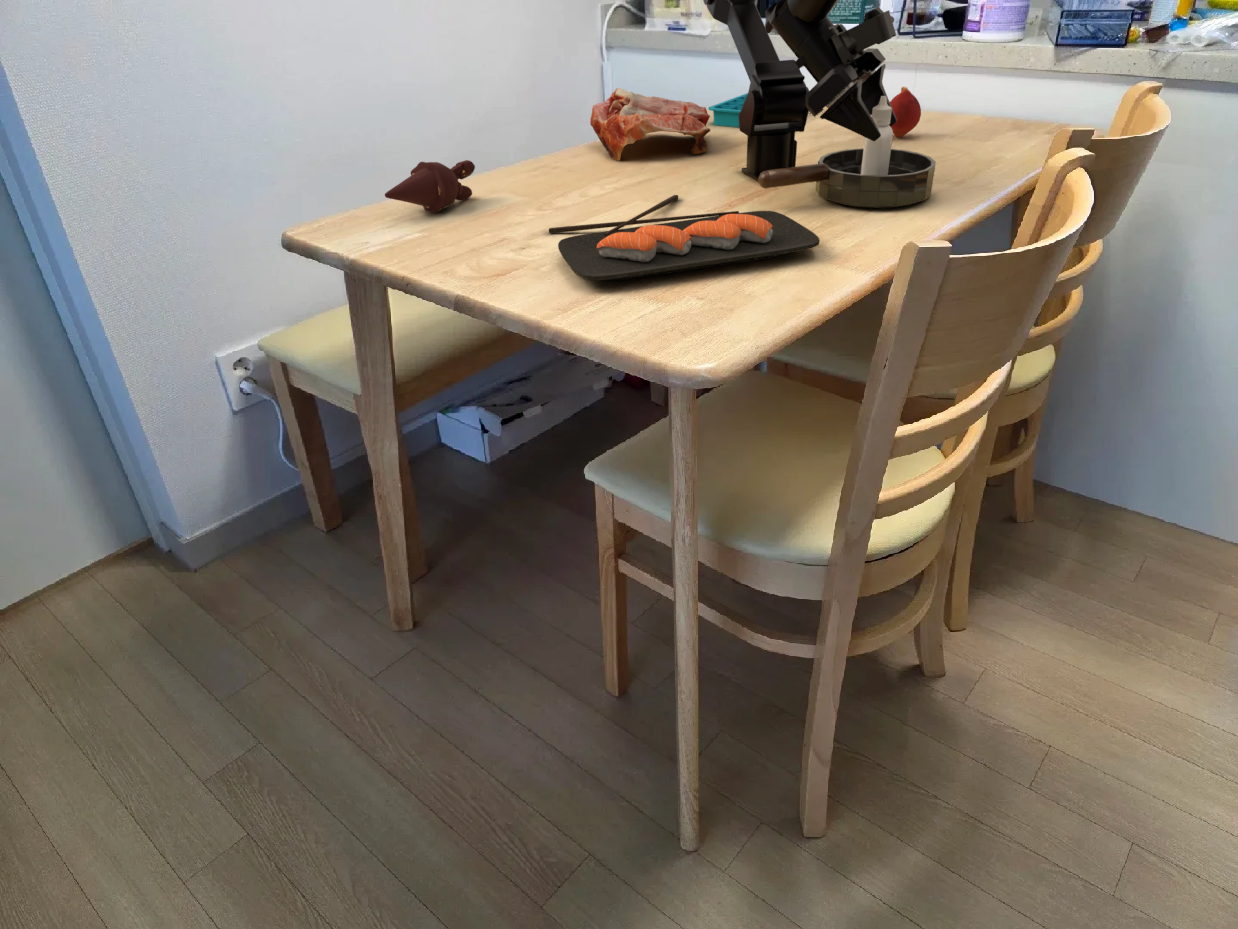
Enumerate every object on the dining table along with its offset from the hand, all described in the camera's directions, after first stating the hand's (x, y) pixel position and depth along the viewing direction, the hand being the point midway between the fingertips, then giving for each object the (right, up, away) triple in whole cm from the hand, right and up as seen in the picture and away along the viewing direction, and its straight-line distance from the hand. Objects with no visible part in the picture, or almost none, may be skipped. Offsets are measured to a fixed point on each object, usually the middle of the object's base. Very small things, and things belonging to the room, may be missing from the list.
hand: (886, 130), depth 109 cm
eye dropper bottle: (0, -6, +5) cm, 8 cm away
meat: (-29, +11, +34) cm, 47 cm away
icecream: (-61, -8, +8) cm, 63 cm away
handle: (-12, -7, +1) cm, 14 cm away
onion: (+13, +12, +32) cm, 37 cm away
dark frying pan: (0, -7, +5) cm, 8 cm away
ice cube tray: (-8, +23, +51) cm, 57 cm away
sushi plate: (-30, -16, -6) cm, 34 cm away
